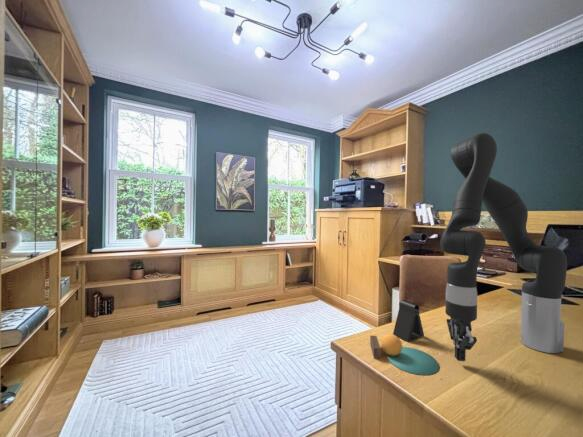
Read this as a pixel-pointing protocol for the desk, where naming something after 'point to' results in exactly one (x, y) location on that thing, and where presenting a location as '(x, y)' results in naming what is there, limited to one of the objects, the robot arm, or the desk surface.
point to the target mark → (414, 361)
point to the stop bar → (375, 347)
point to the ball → (391, 344)
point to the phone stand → (408, 322)
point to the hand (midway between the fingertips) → (459, 359)
